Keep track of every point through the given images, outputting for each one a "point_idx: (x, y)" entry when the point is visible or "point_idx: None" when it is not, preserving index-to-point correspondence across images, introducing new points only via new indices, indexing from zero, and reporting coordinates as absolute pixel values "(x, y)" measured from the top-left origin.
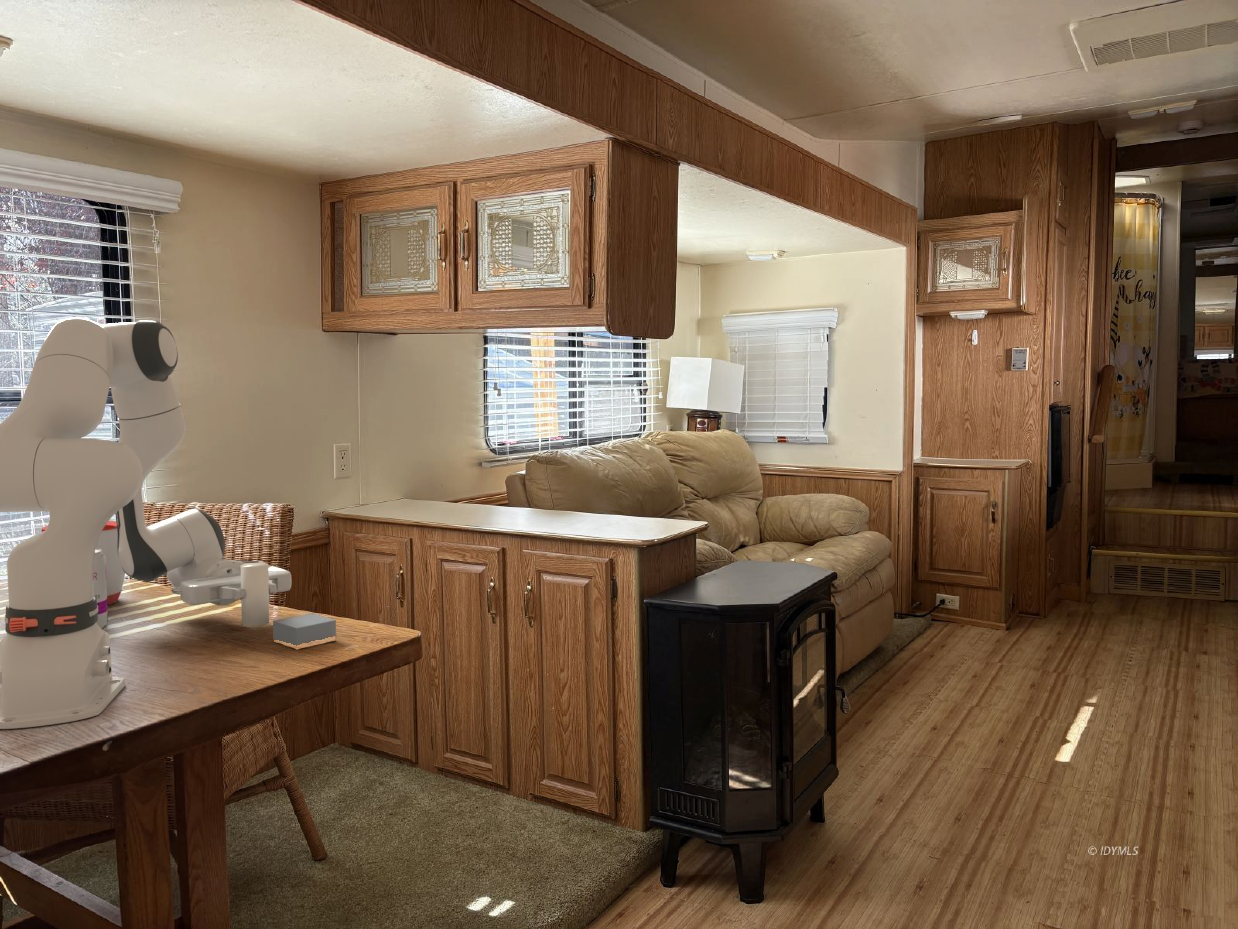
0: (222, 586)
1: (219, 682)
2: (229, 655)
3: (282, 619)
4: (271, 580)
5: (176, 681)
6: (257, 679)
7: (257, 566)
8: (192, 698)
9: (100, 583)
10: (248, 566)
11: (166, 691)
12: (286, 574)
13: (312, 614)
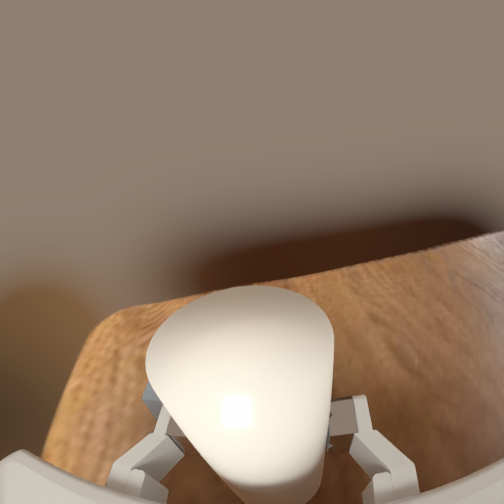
0: (403, 496)
1: (428, 286)
2: (394, 394)
3: None
4: (117, 462)
5: (478, 309)
6: (383, 278)
7: (256, 295)
8: (453, 262)
9: None
10: (296, 318)
11: (482, 285)
12: (31, 453)
13: (152, 388)
